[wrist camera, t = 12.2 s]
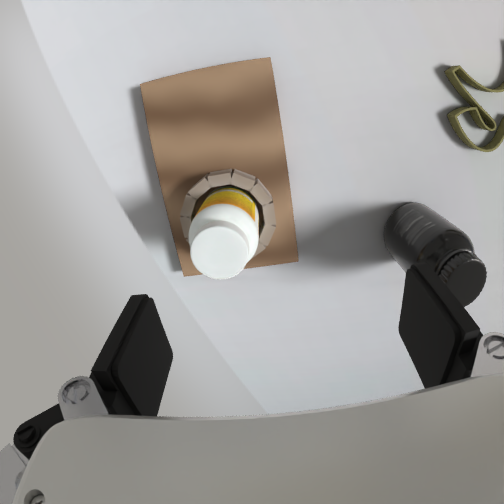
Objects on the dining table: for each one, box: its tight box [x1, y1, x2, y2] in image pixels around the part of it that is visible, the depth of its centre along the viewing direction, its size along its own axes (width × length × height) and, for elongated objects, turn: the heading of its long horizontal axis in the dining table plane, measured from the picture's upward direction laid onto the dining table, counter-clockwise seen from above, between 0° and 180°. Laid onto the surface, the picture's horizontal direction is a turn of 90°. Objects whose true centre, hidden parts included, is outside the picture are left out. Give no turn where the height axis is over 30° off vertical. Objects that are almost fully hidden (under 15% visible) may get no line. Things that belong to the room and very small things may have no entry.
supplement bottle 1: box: [189, 186, 259, 279], centre depth 26 cm, size 5×5×10 cm
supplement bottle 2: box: [384, 203, 487, 307], centre depth 27 cm, size 7×7×12 cm
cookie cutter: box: [444, 65, 504, 152], centre depth 25 cm, size 18×12×2 cm, turn 121°
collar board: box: [140, 57, 298, 277], centre depth 29 cm, size 20×12×4 cm, turn 9°
